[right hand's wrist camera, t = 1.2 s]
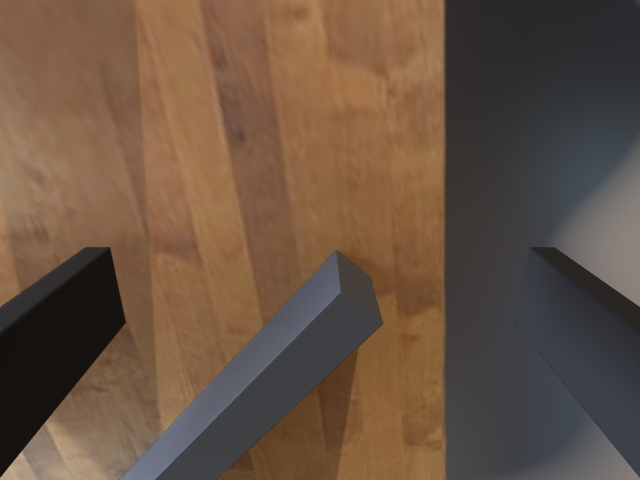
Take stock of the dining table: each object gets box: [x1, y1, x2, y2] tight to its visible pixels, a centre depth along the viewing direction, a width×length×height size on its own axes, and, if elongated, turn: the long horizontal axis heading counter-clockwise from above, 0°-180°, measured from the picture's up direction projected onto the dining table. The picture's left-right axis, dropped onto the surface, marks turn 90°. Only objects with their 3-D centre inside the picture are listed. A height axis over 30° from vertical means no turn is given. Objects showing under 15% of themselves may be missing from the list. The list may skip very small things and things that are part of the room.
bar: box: [119, 251, 383, 480], centre depth 45 cm, size 53×5×9 cm, turn 139°
